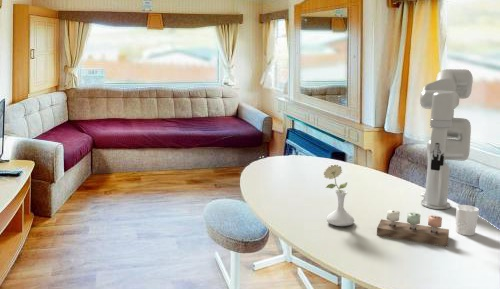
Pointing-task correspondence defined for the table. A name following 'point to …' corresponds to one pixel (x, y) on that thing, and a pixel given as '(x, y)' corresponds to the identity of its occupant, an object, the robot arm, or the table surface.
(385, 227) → the button board
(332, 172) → the flower in vase
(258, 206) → the table surface
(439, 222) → the plunger
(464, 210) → the white cup
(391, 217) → the plunger
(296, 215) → the table surface
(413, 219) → the plunger
